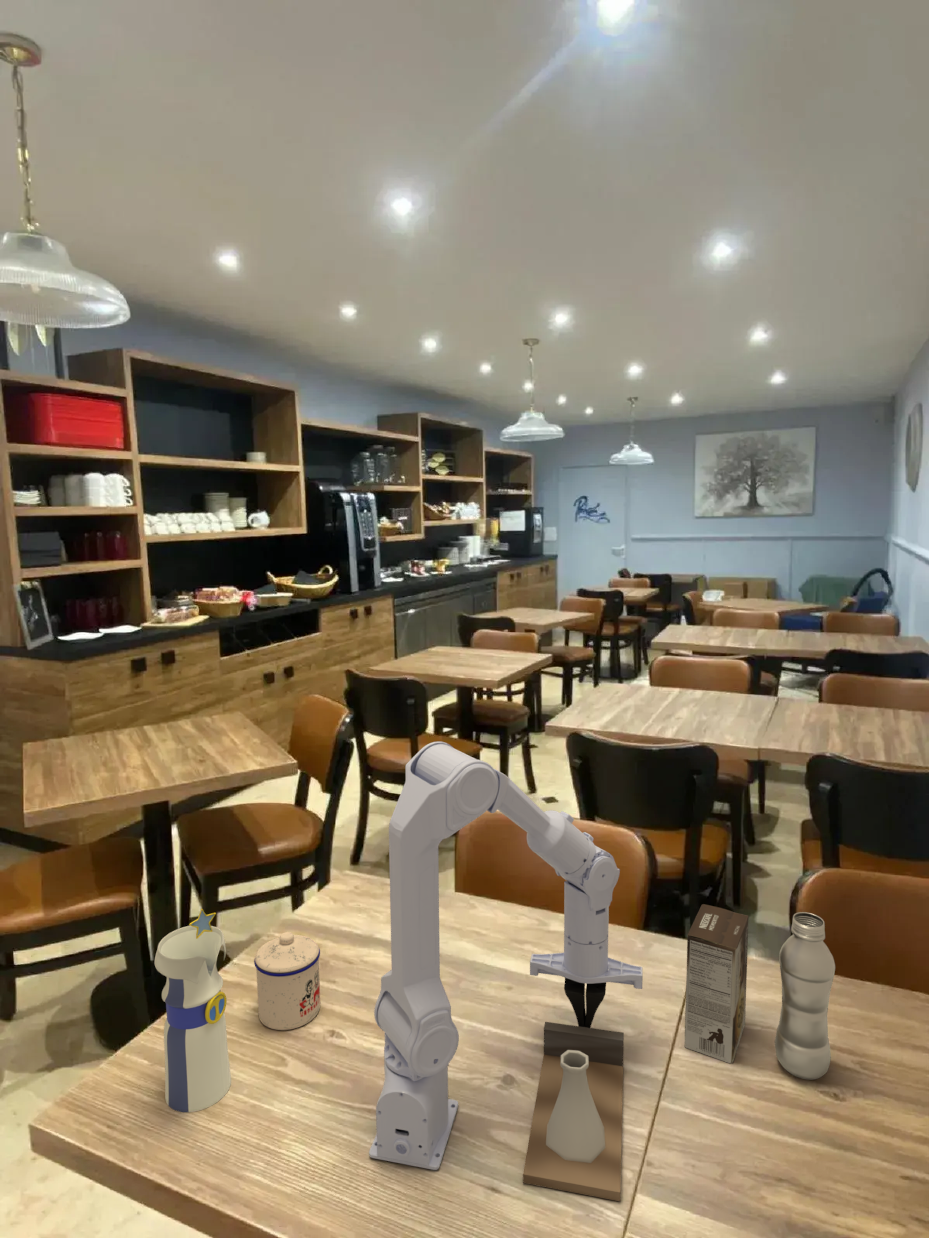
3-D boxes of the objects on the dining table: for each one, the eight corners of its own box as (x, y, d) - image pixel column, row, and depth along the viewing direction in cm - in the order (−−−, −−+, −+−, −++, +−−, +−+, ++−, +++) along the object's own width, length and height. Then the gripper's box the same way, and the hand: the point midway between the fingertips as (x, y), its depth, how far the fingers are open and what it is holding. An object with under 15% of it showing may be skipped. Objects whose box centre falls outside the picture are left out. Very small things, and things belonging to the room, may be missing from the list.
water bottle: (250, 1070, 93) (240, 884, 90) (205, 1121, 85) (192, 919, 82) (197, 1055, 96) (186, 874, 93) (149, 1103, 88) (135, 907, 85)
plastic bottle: (823, 1054, 95) (831, 909, 92) (835, 1092, 88) (843, 937, 86) (770, 1045, 97) (776, 902, 94) (777, 1082, 90) (784, 930, 88)
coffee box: (698, 1008, 104) (701, 901, 102) (746, 1024, 101) (750, 913, 99) (682, 1047, 96) (685, 932, 94) (733, 1065, 93) (737, 947, 91)
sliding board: (620, 1201, 74) (620, 1161, 74) (522, 1182, 77) (522, 1143, 76) (623, 1065, 93) (623, 1032, 93) (545, 1053, 95) (545, 1021, 95)
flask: (616, 1132, 83) (615, 1048, 82) (597, 1180, 76) (596, 1089, 76) (556, 1112, 86) (554, 1031, 85) (533, 1156, 80) (531, 1069, 79)
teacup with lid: (313, 1033, 100) (309, 953, 99) (247, 1031, 100) (243, 952, 99) (333, 979, 112) (330, 908, 110) (274, 978, 112) (271, 907, 111)
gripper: (642, 922, 98) (640, 1016, 99) (534, 911, 101) (534, 1002, 103) (643, 952, 91) (641, 1052, 92) (527, 938, 94) (527, 1036, 96)
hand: (585, 1028), depth 97 cm, fingers closed
